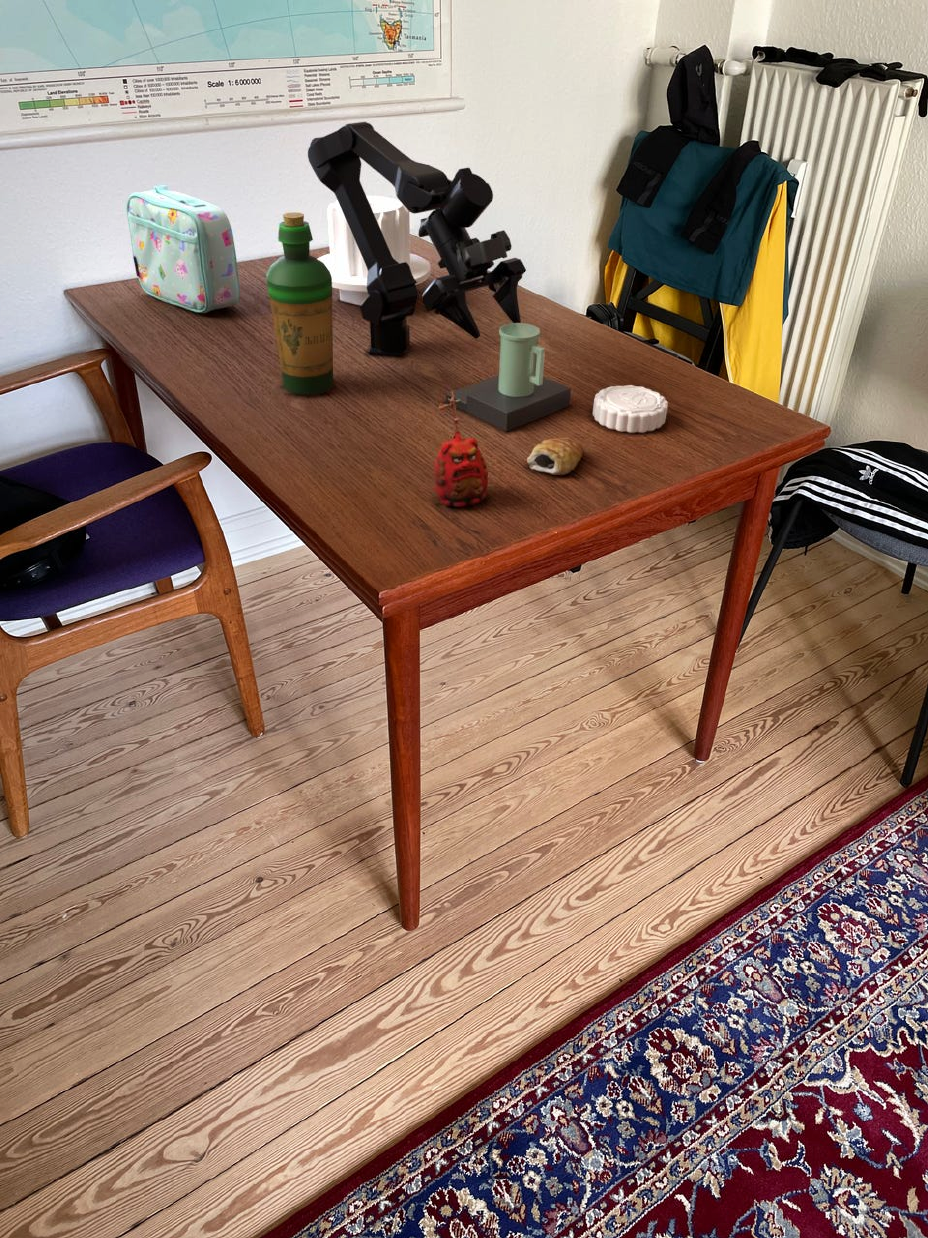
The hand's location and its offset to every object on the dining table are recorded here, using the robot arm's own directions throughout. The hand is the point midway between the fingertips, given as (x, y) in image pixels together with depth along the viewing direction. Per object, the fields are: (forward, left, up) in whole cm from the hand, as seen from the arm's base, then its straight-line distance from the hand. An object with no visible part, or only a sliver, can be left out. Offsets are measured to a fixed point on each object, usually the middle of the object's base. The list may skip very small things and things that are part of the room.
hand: (498, 330), depth 147 cm
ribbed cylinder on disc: (-34, +44, -12) cm, 57 cm away
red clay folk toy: (+1, -34, -12) cm, 36 cm away
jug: (+5, -3, -9) cm, 10 cm away
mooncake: (+23, -2, -12) cm, 26 cm away
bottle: (-32, -3, -12) cm, 35 cm away
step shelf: (+2, -2, -12) cm, 12 cm away
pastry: (+13, -21, -12) cm, 27 cm away
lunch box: (-71, +33, -12) cm, 79 cm away
